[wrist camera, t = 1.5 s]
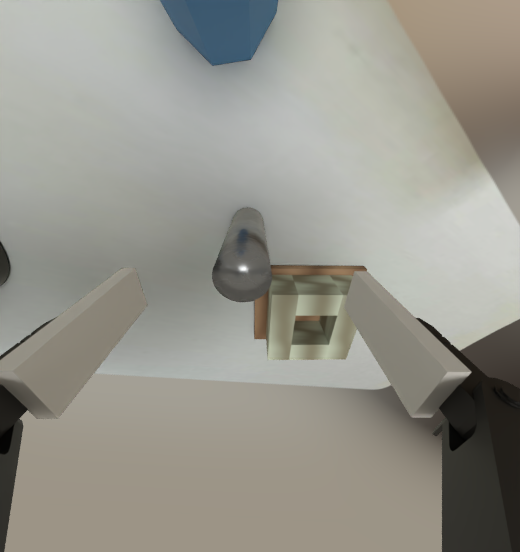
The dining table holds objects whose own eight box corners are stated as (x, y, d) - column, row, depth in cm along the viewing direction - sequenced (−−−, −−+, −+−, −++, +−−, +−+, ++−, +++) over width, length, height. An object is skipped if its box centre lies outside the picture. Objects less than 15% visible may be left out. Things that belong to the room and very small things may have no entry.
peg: (233, 238, 26) (214, 302, 14) (231, 207, 24) (209, 250, 12) (263, 238, 26) (270, 302, 14) (264, 207, 24) (273, 250, 12)
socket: (254, 334, 35) (254, 364, 30) (255, 265, 28) (255, 288, 23) (341, 334, 36) (356, 363, 30) (363, 266, 29) (388, 288, 24)
